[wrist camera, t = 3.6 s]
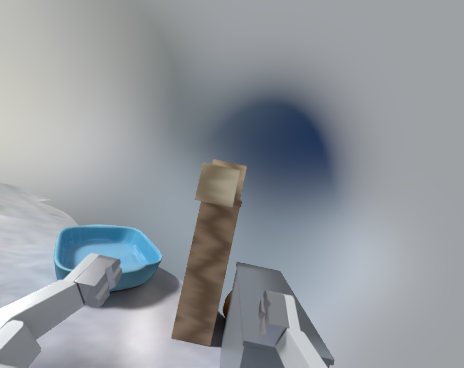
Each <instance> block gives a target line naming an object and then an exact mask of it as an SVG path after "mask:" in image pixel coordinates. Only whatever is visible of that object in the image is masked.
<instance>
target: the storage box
mask: <svg viewBox="0 0 464 368" xmlns="http://www.w3.org/2000/svg"><path fill="white" fill-rule="evenodd" d="M236 266H237V270H236V274H235V279H234V284H233V289H232V293H231V298H230V303H229V308H228V313H227V317H226V322H225V327H224V332H223V336H222V345H221V362H220V368H285V367H284V365H283V363H282V360H281V358H280V356H279V354H278V352H277V350H276V347H275V346H274V345H270V344H266V343H262V342H259V325H260V323H261V321H260V319H259V303H260V300H261V298H263V293H264V291H265V290H267V291H272V292H278V293H283V294H286V295H291V296H293V297H294V300H295V305H296V310H297V315H298V320H299V325H300V330H301V331H302V332H304V333H305V335H306V336H307V338H308V339H309V341H310V342H311V344H312V345H313V347H314V348H315V350H316V351H317V353H318V354H319V356H320V357H321V358H322V360H323V361H324V363H325V364H326V366H327V367H328V368H329V365H333V364H334V359H333V357H332V356H331V354H330V352H329V350H328V349H327V347H326V345H325V344H324V342H323V341H322V339H321V337H320V336H319V334H318V333H317V331H316V329H315V327H314V326H313V324H312V323H311V321H310V319H309V318H308V316H307V314H306V313H305V311H304V310H303V308H302V306H301V305H300V303H299V301H298V300H297V298H296V296H295V295H294V293H293V291H292V290H291V288H290V287H289V285H288V283H287V282H286V280H285V279H284V277H283V275H282V273H281V272H280V271H277V270H273V269H268V268H263V267H258V266H254V265H249V264H245V263H240V262H237V264H236Z"/></svg>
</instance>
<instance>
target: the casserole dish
mask: <svg viewBox="0 0 464 368" xmlns="http://www.w3.org/2000/svg"><path fill="white" fill-rule="evenodd" d="M91 253H95V254H100V255H103V256H108V257H112V258H117V259H120V261H121V264H120V265H119V266H120V267H121V268H122V275H121V278H120V280H119V282H118V283H117V285H116V286H115V287H114V288H112V289H110V292H111V291H117V290H122V289H128V288H132V287H136V286H139V285H141V284H143V283H145V282H146V281H148V280H149V279H150V278H151V277H152V275H153V274H154V272H155V271H156V269H157V267H158V265H159V263H160V262H161V260H162V254H161V252H160V251H159V250H158V249H157V247H156V246H155V245H154V244H153V243H152V242H151V241H150V240H149V239H148V238H147V237H146V235H145V234H144V233H143V232H141V231H140V230H137V229H135V228H131V227H121V226H114V225H87V226H72V227H67V228H64V229H62V230H61V231H60V232H59V234H58V236H57V241H56V246H55V252H54V263H55V271H56V276H57V280H63V279H64V278H65V277H66V276H67V275H68V274H69V273H70V272H71V271H72V270H73V269H74V268H75V267H76V266H77V265H78V264H79V263H80V262H81V261H82V260H83V259H84V258H85V257H86V256H87V255H89V254H91Z"/></svg>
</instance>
